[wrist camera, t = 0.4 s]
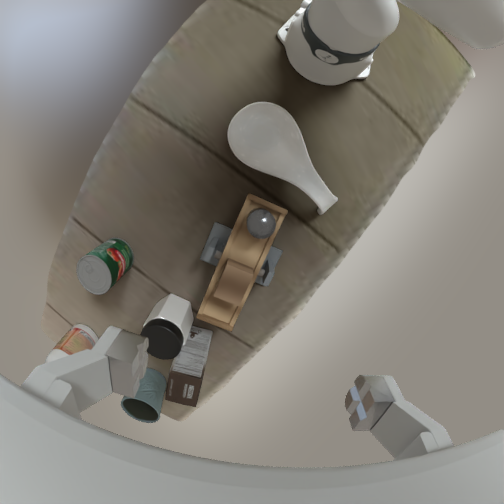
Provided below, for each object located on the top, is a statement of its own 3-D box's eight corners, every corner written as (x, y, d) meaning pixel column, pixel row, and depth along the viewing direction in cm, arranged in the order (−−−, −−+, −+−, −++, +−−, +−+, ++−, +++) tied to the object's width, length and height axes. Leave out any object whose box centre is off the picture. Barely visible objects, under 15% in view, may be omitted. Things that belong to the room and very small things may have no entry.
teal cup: (141, 360, 65) (126, 391, 53) (175, 378, 66) (165, 411, 55) (131, 379, 68) (116, 410, 56) (162, 396, 69) (152, 428, 58)
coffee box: (206, 359, 64) (195, 408, 49) (181, 352, 63) (164, 400, 48) (213, 330, 61) (202, 380, 46) (185, 322, 60) (167, 370, 45)
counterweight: (252, 203, 47) (254, 205, 42) (276, 214, 47) (280, 217, 42) (242, 227, 48) (242, 232, 43) (266, 237, 48) (268, 243, 43)
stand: (215, 221, 53) (209, 230, 47) (282, 250, 54) (285, 262, 48) (200, 258, 55) (193, 270, 49) (265, 284, 57) (266, 300, 51)
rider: (228, 257, 49) (227, 264, 45) (252, 268, 49) (253, 275, 45) (215, 287, 50) (213, 296, 46) (239, 297, 50) (239, 306, 47)
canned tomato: (140, 260, 56) (119, 283, 45) (117, 278, 57) (94, 301, 47) (119, 230, 53) (92, 246, 43) (96, 249, 55) (69, 268, 44)
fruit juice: (98, 328, 62) (43, 403, 35) (102, 355, 65) (57, 429, 38) (70, 318, 61) (11, 384, 35) (75, 345, 64) (26, 411, 38)
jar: (153, 293, 58) (133, 323, 47) (189, 292, 58) (175, 323, 46) (162, 327, 61) (146, 360, 50) (196, 327, 61) (185, 362, 49)
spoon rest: (216, 137, 48) (210, 134, 41) (262, 93, 45) (263, 83, 38) (306, 225, 53) (314, 236, 46) (350, 184, 50) (363, 188, 43)
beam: (242, 190, 48) (242, 190, 45) (290, 211, 49) (294, 213, 46) (193, 308, 53) (190, 315, 50) (237, 325, 54) (237, 333, 51)
